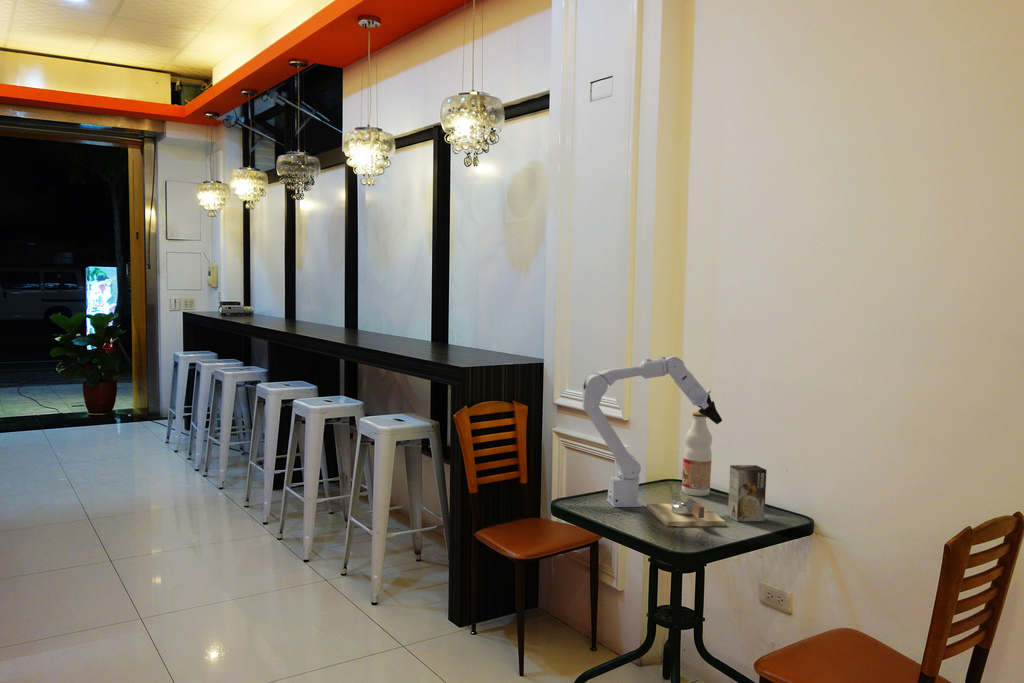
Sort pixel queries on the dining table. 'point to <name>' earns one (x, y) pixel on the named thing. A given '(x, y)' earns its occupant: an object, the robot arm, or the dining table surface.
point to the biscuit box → (747, 493)
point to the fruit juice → (697, 458)
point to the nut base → (684, 517)
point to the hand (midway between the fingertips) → (717, 419)
